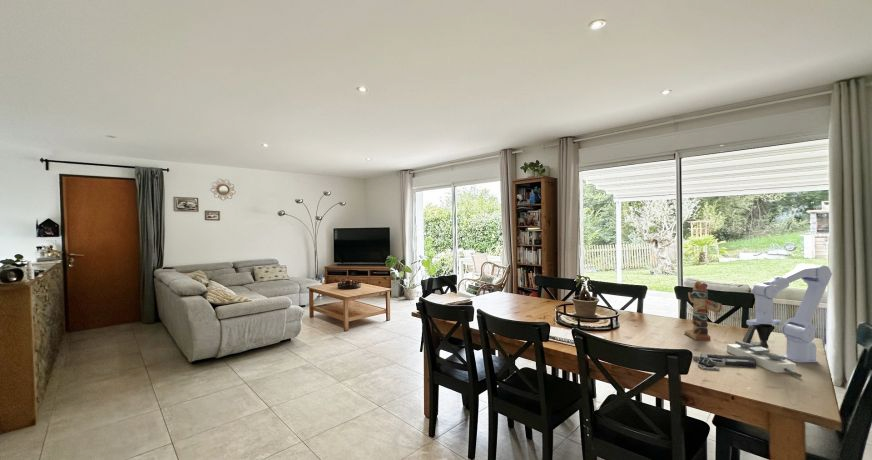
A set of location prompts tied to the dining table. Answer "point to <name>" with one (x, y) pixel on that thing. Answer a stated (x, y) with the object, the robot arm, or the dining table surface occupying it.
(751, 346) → the rocker
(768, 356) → the rocker
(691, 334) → the totem pole
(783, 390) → the dining table surface
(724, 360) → the firearm
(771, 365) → the power strip
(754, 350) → the rocker
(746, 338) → the dark grey a-frame stand
